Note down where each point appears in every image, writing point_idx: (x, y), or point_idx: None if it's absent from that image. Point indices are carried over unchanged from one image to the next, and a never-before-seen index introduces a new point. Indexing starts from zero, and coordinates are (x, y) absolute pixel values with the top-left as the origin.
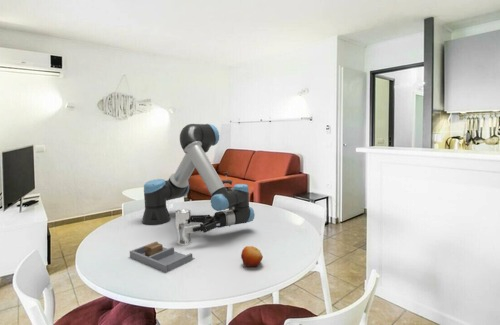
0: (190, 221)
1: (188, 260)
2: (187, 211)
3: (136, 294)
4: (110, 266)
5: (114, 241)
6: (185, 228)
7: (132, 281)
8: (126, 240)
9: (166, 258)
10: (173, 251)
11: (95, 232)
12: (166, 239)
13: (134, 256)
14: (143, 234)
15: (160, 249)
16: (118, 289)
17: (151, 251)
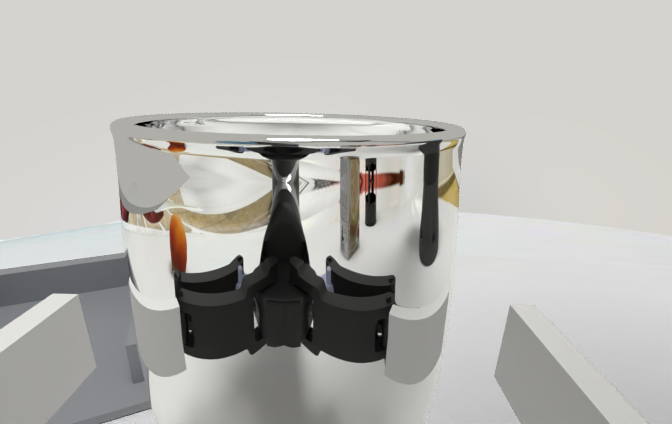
0: (153, 392)
1: None
2: (396, 199)
3: (5, 245)
4: None
5: (502, 248)
6: (48, 306)
7: (94, 247)
8: (509, 269)
9: (117, 334)
10: (131, 366)
11: (618, 228)
12: (497, 420)
13: None
14: (621, 324)
15: None
16: (94, 230)
17: None
